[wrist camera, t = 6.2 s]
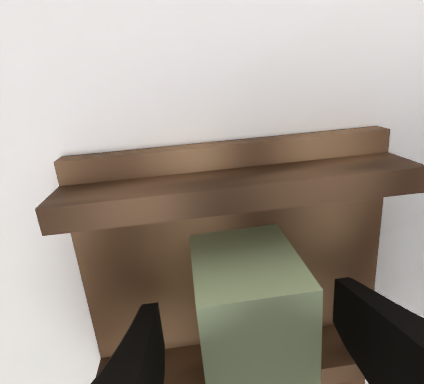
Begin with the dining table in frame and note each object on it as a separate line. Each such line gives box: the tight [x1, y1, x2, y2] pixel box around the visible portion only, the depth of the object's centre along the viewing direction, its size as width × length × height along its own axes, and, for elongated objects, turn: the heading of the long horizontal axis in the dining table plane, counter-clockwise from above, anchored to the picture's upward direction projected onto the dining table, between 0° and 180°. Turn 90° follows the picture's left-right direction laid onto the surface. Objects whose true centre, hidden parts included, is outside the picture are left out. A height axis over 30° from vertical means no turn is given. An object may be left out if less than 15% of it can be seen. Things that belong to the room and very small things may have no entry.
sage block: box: [189, 224, 323, 384], centre depth 13 cm, size 4×4×5 cm
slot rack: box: [35, 126, 424, 384], centre depth 16 cm, size 14×21×4 cm, turn 5°
